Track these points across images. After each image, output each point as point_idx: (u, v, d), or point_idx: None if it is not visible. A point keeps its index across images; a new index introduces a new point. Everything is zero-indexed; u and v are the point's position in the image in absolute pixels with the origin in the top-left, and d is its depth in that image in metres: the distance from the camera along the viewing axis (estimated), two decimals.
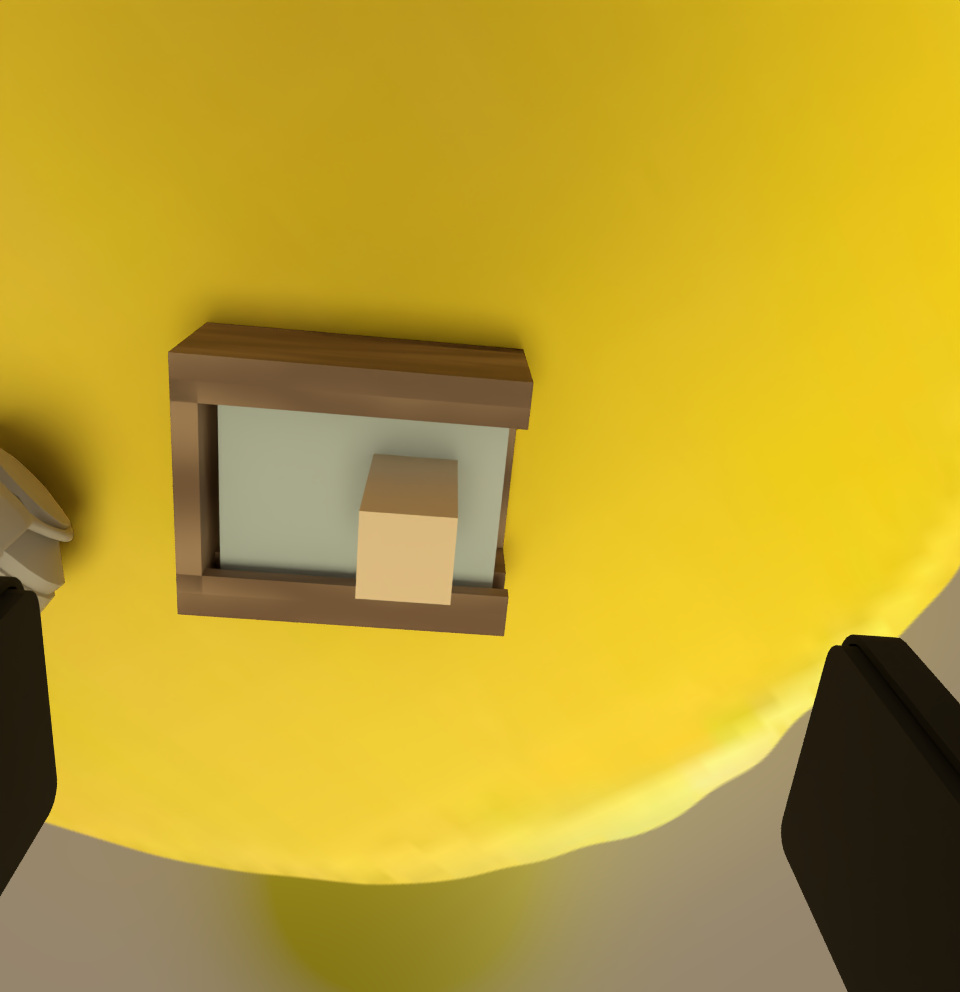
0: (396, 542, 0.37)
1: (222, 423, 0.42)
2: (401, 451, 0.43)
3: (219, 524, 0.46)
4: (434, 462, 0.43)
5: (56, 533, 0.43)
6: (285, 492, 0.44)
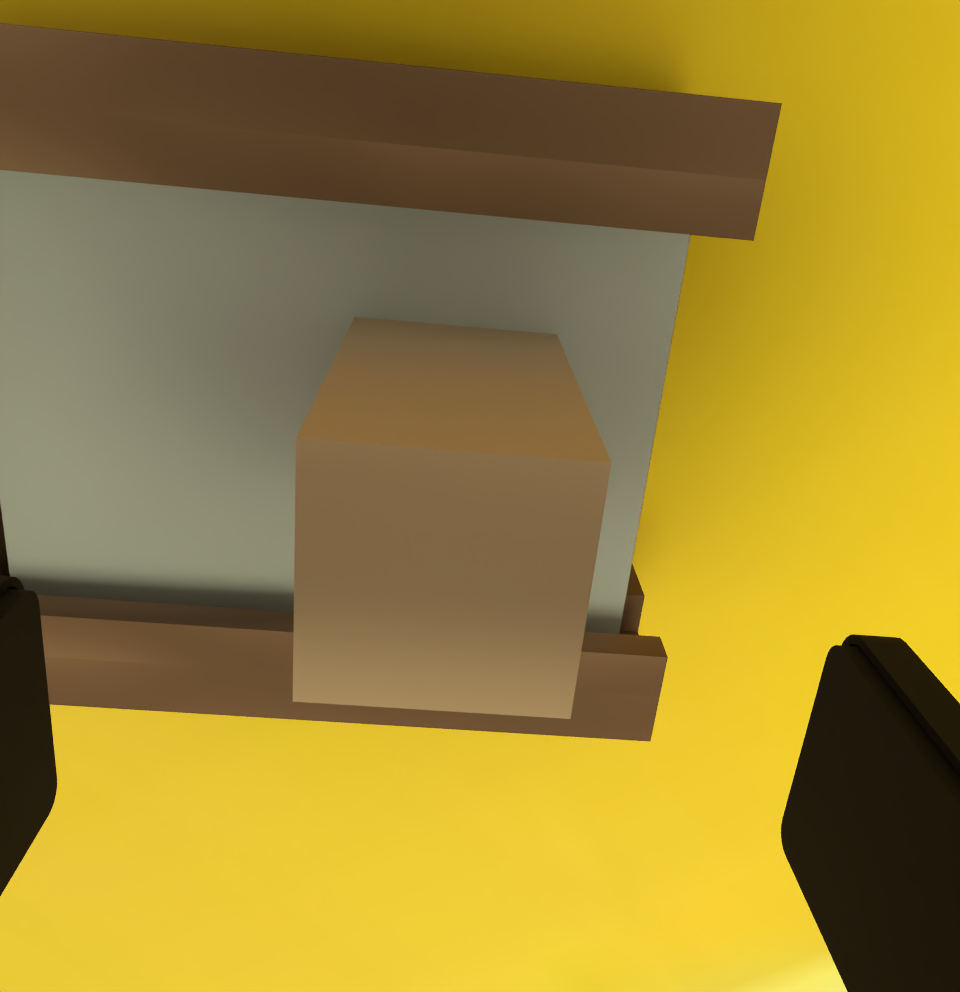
0: (414, 538, 0.12)
1: None
2: (420, 310, 0.18)
3: None
4: (502, 336, 0.17)
5: None
6: (147, 411, 0.18)
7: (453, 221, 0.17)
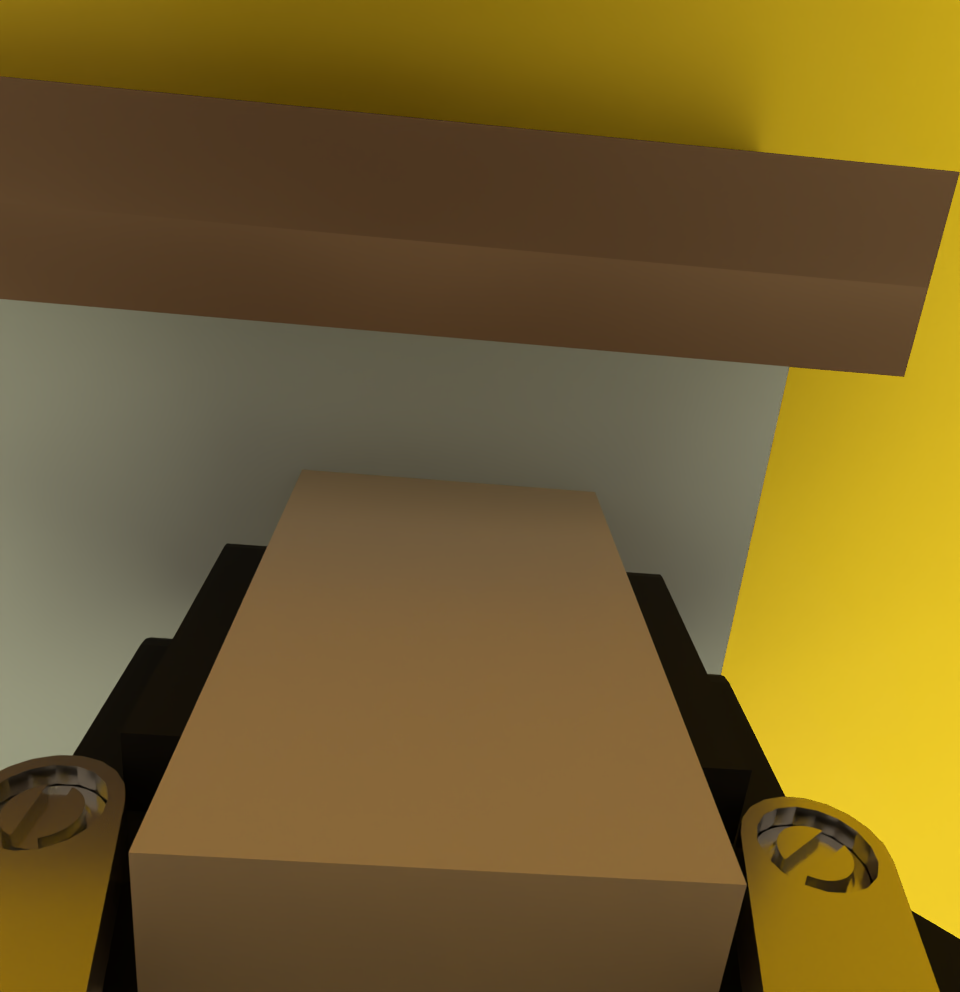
0: None
1: None
2: (398, 460, 0.12)
3: None
4: (517, 503, 0.12)
5: None
6: (7, 599, 0.13)
7: None
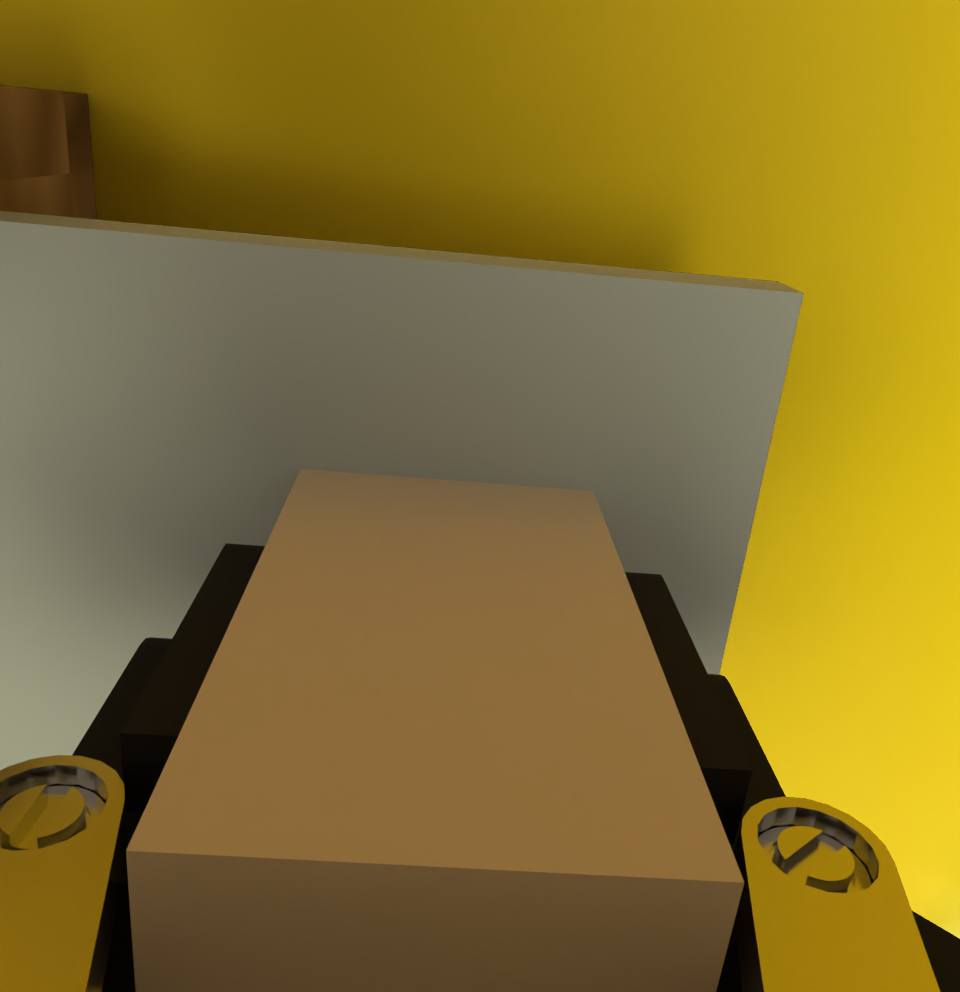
0: None
1: None
2: (396, 459, 0.12)
3: None
4: (515, 502, 0.12)
5: None
6: (6, 598, 0.13)
7: (443, 335, 0.12)
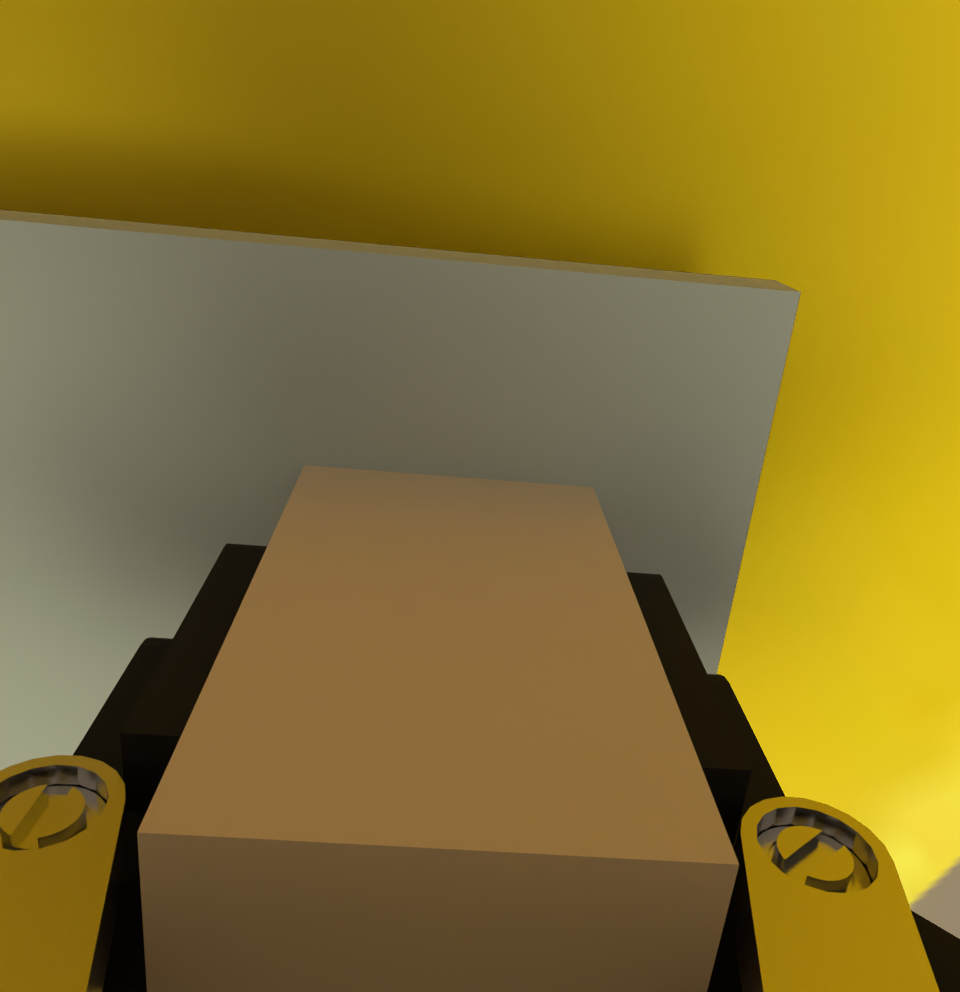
0: (369, 985, 0.06)
1: None
2: (399, 455, 0.12)
3: None
4: (517, 497, 0.12)
5: None
6: (13, 593, 0.13)
7: (445, 333, 0.12)
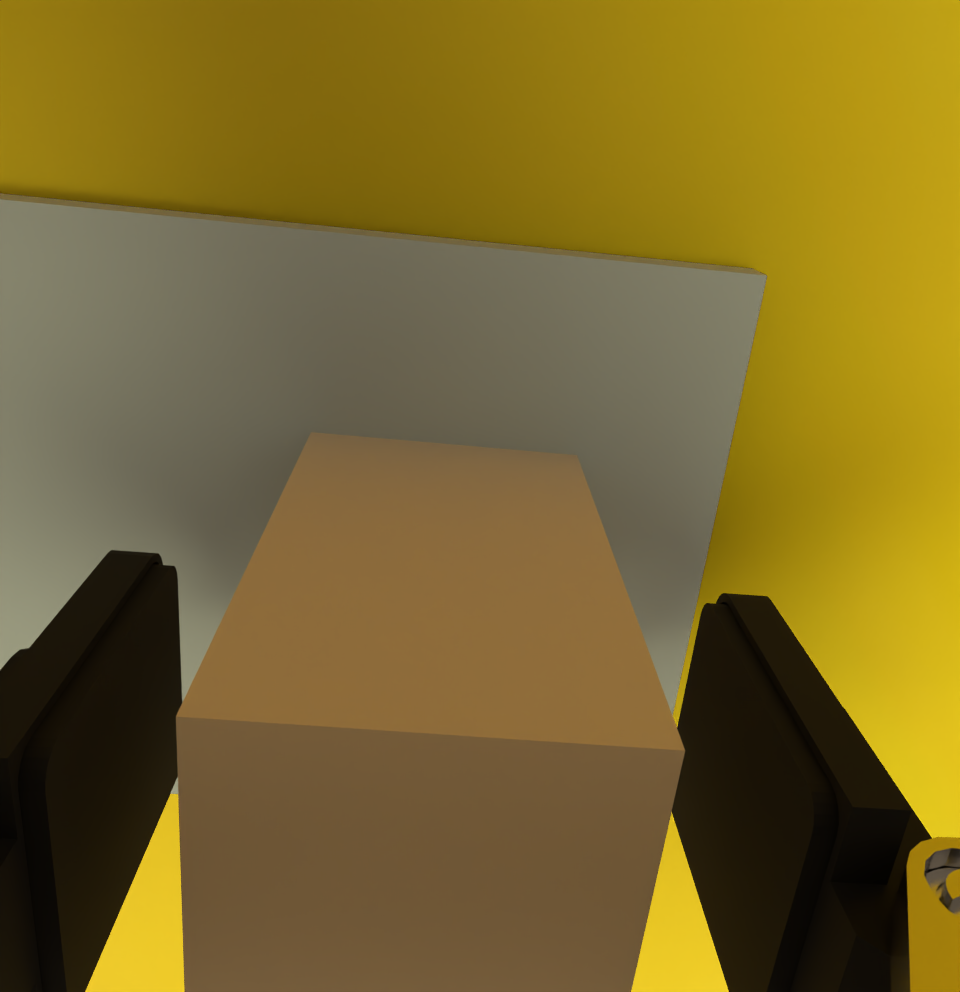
0: (370, 856, 0.08)
1: None
2: (398, 423, 0.13)
3: None
4: (505, 462, 0.13)
5: None
6: (40, 550, 0.14)
7: (441, 311, 0.13)
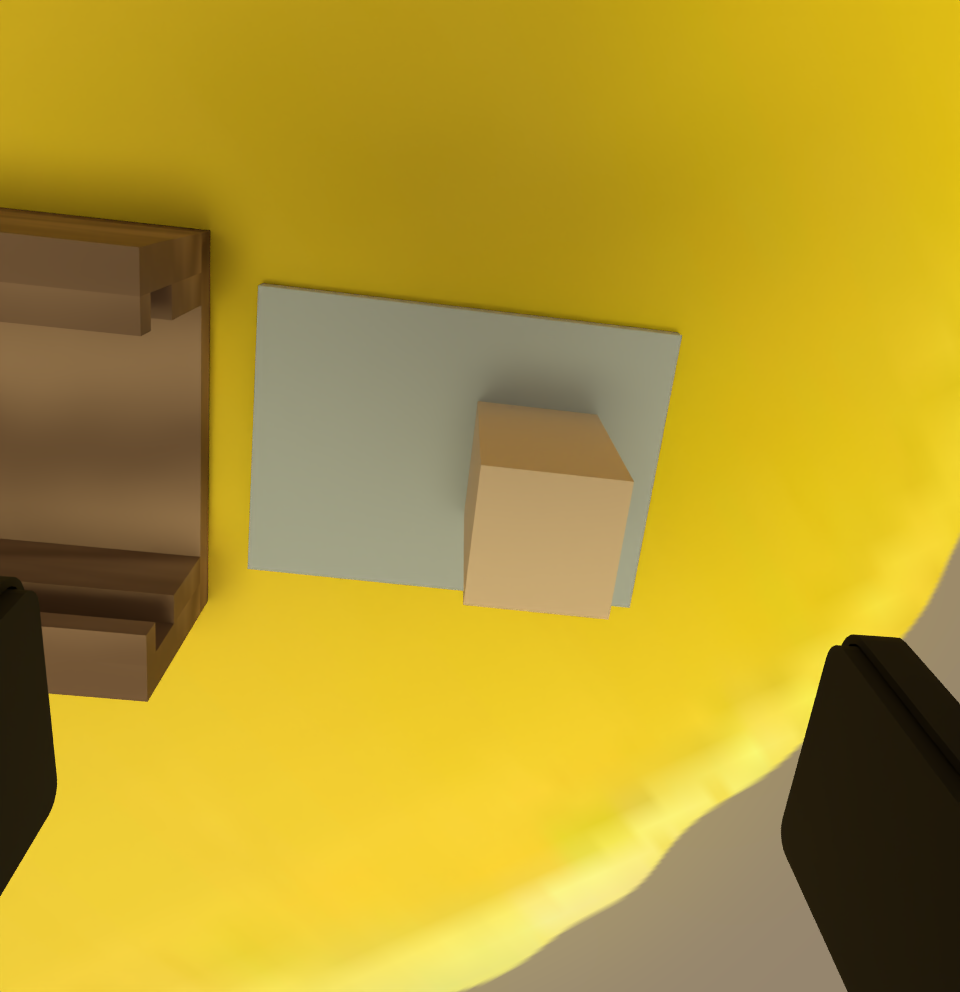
0: (534, 517, 0.24)
1: (262, 348, 0.29)
2: (517, 398, 0.30)
3: None
4: (566, 415, 0.29)
5: None
6: (348, 453, 0.30)
7: (539, 348, 0.29)
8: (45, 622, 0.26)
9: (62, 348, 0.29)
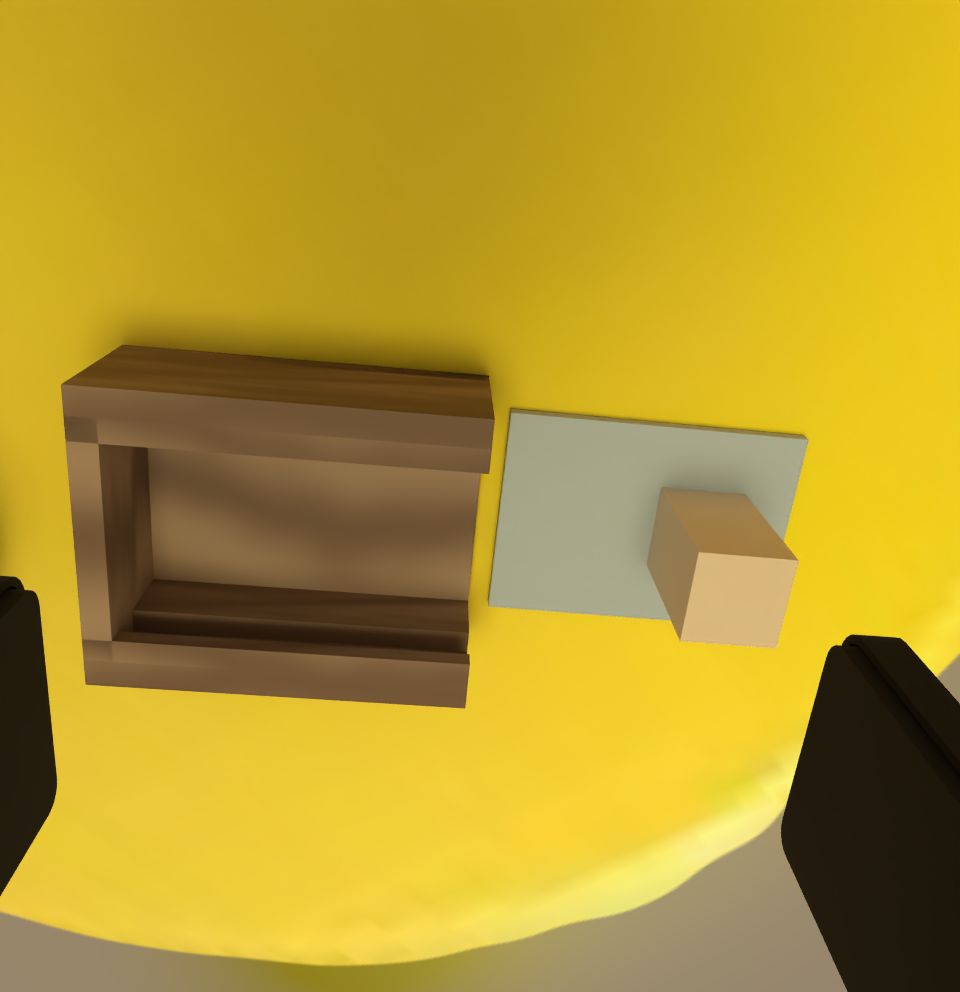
0: (731, 584, 0.36)
1: (510, 455, 0.41)
2: (689, 484, 0.42)
3: (138, 577, 0.40)
4: (725, 497, 0.41)
5: None
6: (566, 525, 0.42)
7: (707, 450, 0.41)
8: (400, 657, 0.38)
9: None
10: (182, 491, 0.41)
